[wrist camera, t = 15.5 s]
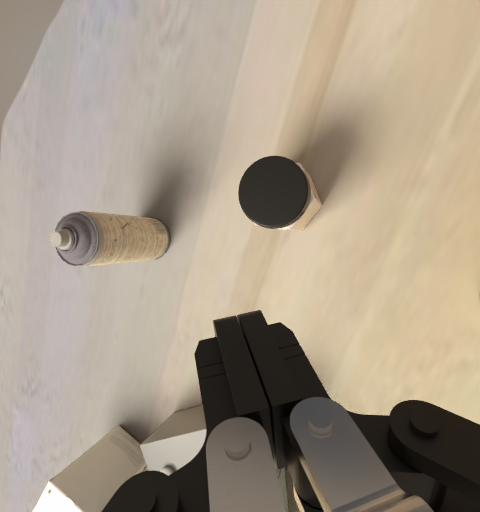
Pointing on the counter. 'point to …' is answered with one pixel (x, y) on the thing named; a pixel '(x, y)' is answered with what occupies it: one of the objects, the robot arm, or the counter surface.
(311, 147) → the counter surface
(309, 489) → the robot arm
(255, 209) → the jar
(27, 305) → the counter surface
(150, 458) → the block
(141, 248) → the aerosol can
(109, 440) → the skincare box
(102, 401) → the counter surface
